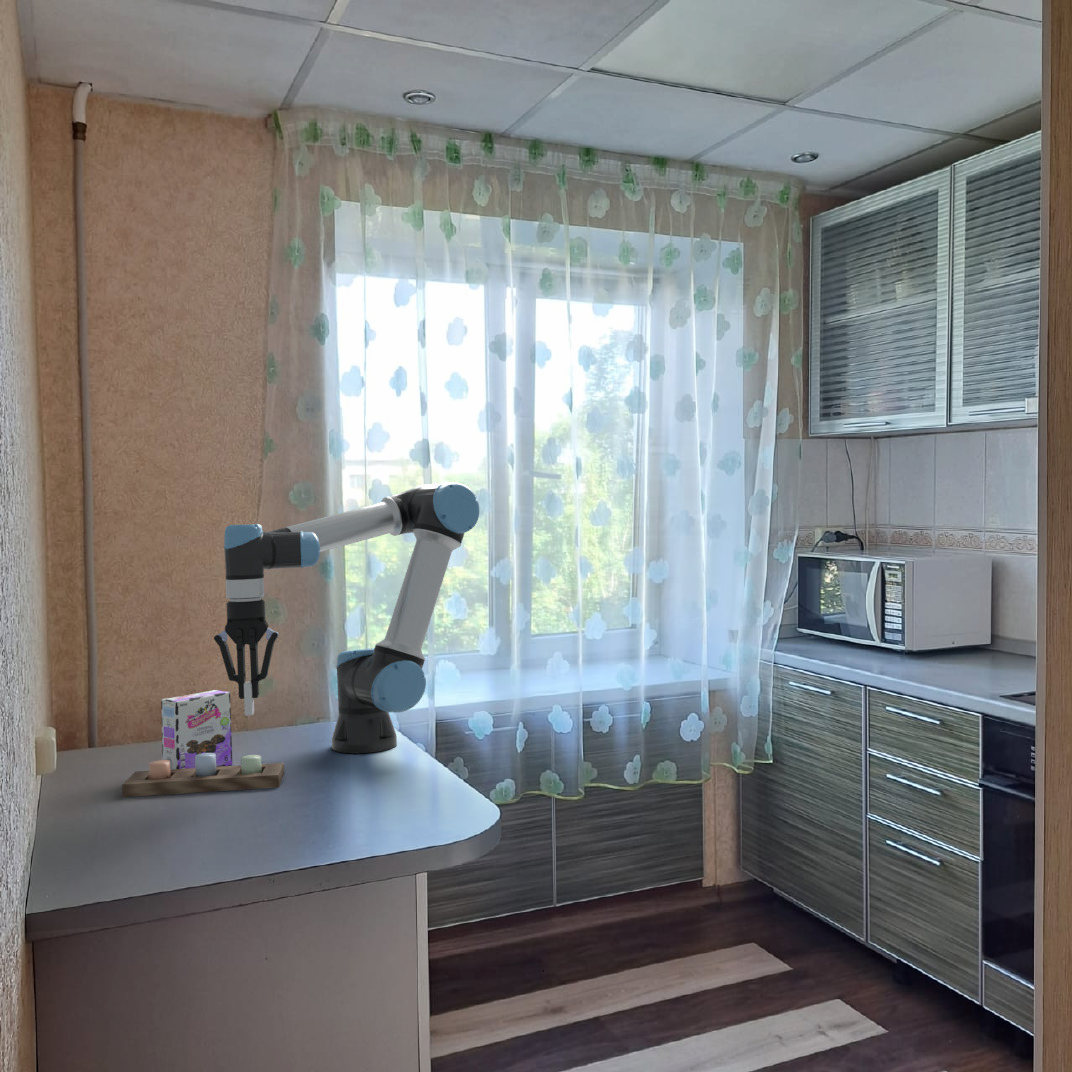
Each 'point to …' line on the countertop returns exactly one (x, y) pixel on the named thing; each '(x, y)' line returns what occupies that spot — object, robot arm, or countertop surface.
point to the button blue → (205, 764)
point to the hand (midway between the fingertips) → (249, 714)
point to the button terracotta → (159, 769)
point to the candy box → (196, 728)
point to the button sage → (251, 764)
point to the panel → (203, 781)
